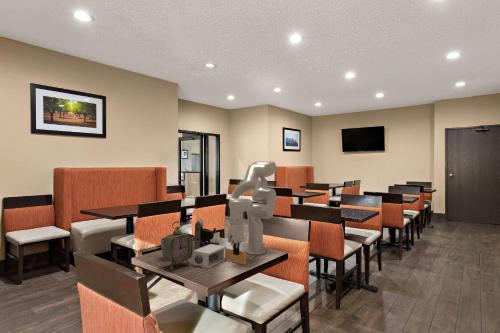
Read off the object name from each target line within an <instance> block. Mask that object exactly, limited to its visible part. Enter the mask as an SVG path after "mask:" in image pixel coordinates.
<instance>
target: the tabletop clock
mask: <svg viewBox="0 0 500 333" xmlns="http://www.w3.org/2000/svg"><path fill="white" fill-rule="evenodd" d="M176 223H181V226H176V227H174V225H175V224H176ZM183 225H184V224H183V222H182V221H180V220H177V221H176V220H175V221H174V222H173V223H172V226H171V227H172V229H174V230H173V232H172V233H170V234H168V235H166V236H165V237H163V238H164V240H163V255H164V259H165V260H164V261H166V260H167V262H171V266H170V270H171V271H172V270H173V269H174V266H177V264H178V263H183V262H186V265H187V266H188V265H190V261H188V260H189V259H191V258H192V257H193V256H192V255H193V251H194V244H193V243H194V242H193V237H192V234H188V233H184V232H183V231H182V230H181V229H182V227H183Z"/></svg>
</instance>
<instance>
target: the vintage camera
mask: <svg viewBox="0 0 500 333" xmlns="http://www.w3.org/2000/svg"><path fill="white" fill-rule="evenodd" d="M216 230H217V228H216V227H213V230H211V229H209V228H204V221H203V220H202V219H199V220H197V221H196V222H195V224H194V239H193V240H194V242H193V243H194V244H193V251H194V250H196V249H199V248H202V247H204V246H207V245H210V244H213V245H219V246H220V243H219V242H213V241H211V240H213V239H214V237H215V233H216Z"/></svg>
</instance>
